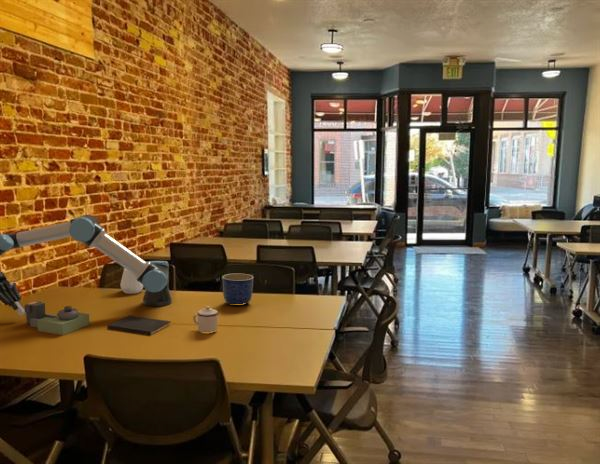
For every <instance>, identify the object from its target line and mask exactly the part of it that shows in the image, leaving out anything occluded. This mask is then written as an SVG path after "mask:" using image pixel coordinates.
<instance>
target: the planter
mask: <svg viewBox="0 0 600 464" xmlns="http://www.w3.org/2000/svg"><path fill="white" fill-rule="evenodd" d="M221 279H222V280H221V281H222V294H223V295H222V296H223V299H224V301H225V302H226V303H227V304H228V303H229V304H243V303H247V302H248V303H250V301H251V300H252V297H253V290H254V289H253V288H254V275H252V274H248V273H247V274H246V273H228V274H224V275H222V277H221ZM248 303H247V304H248ZM229 304H228V305H229Z"/></svg>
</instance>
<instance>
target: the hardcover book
mask: <svg viewBox="0 0 600 464" xmlns="http://www.w3.org/2000/svg"><path fill="white" fill-rule="evenodd" d="M171 322H172V321H170V320H163V319H157V318H151V317H144V316H138V315H137V316H136V315H130V314H129V315H128V316H125V317H123V318H121V319H118V320H117V321H114V322H112V323H109V324H108V325H107V330H113V331H118V332H119V331H120V332H126V333H132V334H137V333H139V335H144V334H147V335H146V336H150V335H151V334H152V335H154V334H156V333H157V332H156V331H158V330H159V329H161V328H163V327H165V326H166V325H168V324H170V325H171ZM165 328H166V327H165ZM163 329H164V328H163ZM155 332H156V333H155ZM158 332H159V331H158ZM153 333H154V334H153ZM152 335H151V336H152Z"/></svg>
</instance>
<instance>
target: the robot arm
mask: <svg viewBox="0 0 600 464" xmlns="http://www.w3.org/2000/svg"><path fill="white" fill-rule="evenodd" d="M65 238H72V239H73V240H74V241H76V242H79V243H83V244H84V245H86V246H87V247H89V248H96V249H97V250H98V251H100V252H101V253H102V254H104V255H105V256H107V257H108V258H110V259H111V260H113V261H114V262H115V263H116V264H118V265H120V266H121V267H123V269H127V270H128V271H130V272H131V273H133V274H134V275H135V278H136V280H137V281H139V282H140V283H141V284H143V286H144V287H143V289H145V292H144V295H143V298H142V304H143V305H144V306H147V307H165V306H168V305H170V304H171V303H172V302H173V297H172V295H171V292H170V289H169V262H168V261H167V260H149V261H145V260H144V259H143V258H141V257H140V256H139V255H138V254H136V253H135V252H134V251H131V250H130V249H129V248H127V247H126V246H125V245H123V243H121V242H119V241H118V240H116V239H115V238H114V237H112V236H111V235H109V234H108V233H107V232H106V229H105V227H104V226H102V225H101V224H100V221H99V220H98V218H97V217H96V216H93V215H92V214H84V215H81V216H78V217H75V218H70V220H68V221H66V222H61V223H57V224H52V225H48V226H43V227H37V228H33V229H30V230H24V231H19V232H15V233H8V234H6V233H1V234H0V257H1V256H2V255H4V254H5V253H7V252H9V251H12V250H15V249H19V248H20V249H21V248H23V247H28V246H34V245H37V244H38V245H39V244H42V243H46V242H52V241H57V240H61V239H65ZM21 300H22V296H21V294H20V292H19V291H18V288H17V283H16V282H12V283H11V282H10V281H9V280H7V276H6V275H5V273H4V272H3V271H2V270H1V269H0V302H1V303H2V304H3V305H5V306H8V307H11V308H12V310H14V311H16V313H17V314H18V316H19V317H22V316H24V315H25V313H26V312H25V308H23V305H22V304H21V302H20V301H21ZM164 305H165V306H164Z"/></svg>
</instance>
